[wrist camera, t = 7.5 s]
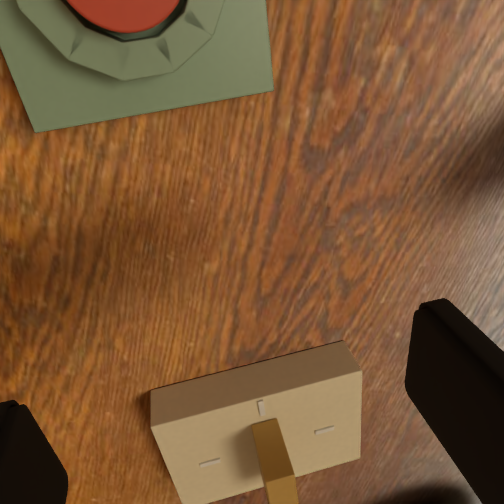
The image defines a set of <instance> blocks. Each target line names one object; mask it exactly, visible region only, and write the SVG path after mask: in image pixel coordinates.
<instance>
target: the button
mask: <svg viewBox="0 0 504 504" xmlns="http://www.w3.org/2000/svg"><path fill="white" fill-rule="evenodd" d="M67 2H68V3H69V4H70V5H71V6H72V7H73V8H74V9H75V10H76V11H77V12H78V13H79V14H81V15H82V16H83V17H84V18H86V19H87V20H89V21H90V22H92V23H93V24H96V25H98V26H100V27H102V28H104V29H107V30H110V31H114V32H119V33H137V32H141V31H145V30H148V29H150V28H153V27H155V26H156V25H158V24H160V23H161V22H162V21H164V20H165V19H166V18H167V17H168V16H169V15H170V14H171V13H172V12H173V10H174V9H175V7H176V6H177V4H178V2H179V0H67Z"/></svg>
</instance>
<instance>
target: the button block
mask: <svg viewBox="0 0 504 504" xmlns="http://www.w3.org/2000/svg"><path fill="white" fill-rule="evenodd" d="M0 48H1V51H2V53H3V56H4V58H5V61H6V63H7V65H8V68H9V70H10V73H11V75H12V78H13V80H14V83H15V85H16V88H17V90H18V92H19V95H20V97H21V100H22V102H23V105H24V107H25V110H26V112H27V115H28V117H29V120H30V122H31V124H32V127H33V129H34V132H35V133H39V132H45V131H50V130H56V129H62V128H67V127H73V126H79V125H84V124H90V123H96V122H101V121H107V120H113V119H118V118H124V117H130V116H135V115H141V114H146V113H152V112H158V111H163V110H169V109H175V108H180V107H186V106H192V105H197V104H203V103H209V102H214V101H220V100H226V99H231V98H237V97H243V96H248V95H254V94H260V93H265V92H271V91H274V84H273V73H272V63H271V52H270V41H269V30H268V19H267V9H266V0H179V2H178V4H177V6H176V7H175V9H174V10H173V12H172V13H171V14H170V15H169V16H168V17H167V18H166V19H165V20H164V21H162V22H161V23H160V24H158V25H156V26H155V27H153V28H150V29H148V30H145V31H141V32H137V33H119V32H114V31H110V30H107V29H104V28H102V27H100V26H98V25H96V24H93V23H92V22H90V21H89V20H87V19H86V18H84V17H83V16H82V15H81V14H79V13H78V12H77V11H76V10H75V9H74V8H73V7H72V6H71V5H70V4H69V3H68V2H67V0H0Z"/></svg>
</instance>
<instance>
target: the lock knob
mask: <svg viewBox="0 0 504 504" xmlns="http://www.w3.org/2000/svg"><path fill="white" fill-rule="evenodd" d="M251 428H252V433H253V438H254V442H255V447H256V452H257V457H258V462H259V467H260V472H261V476H262V480H263V484H264V488H265V492H266V496H267V500H268V504H299V503H298V496H297V488H296V480H295V473H294V470H293V467H292V464H291V461H290V458H289V454H288V451H287V448H286V445H285V442H284V439H283V435H282V432H281V429H280V426H279V423H278V420H277V418H275V419H272V420H268V421H264V422H261V423H257V424H253V425H251Z"/></svg>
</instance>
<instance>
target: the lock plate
mask: <svg viewBox="0 0 504 504" xmlns="http://www.w3.org/2000/svg"><path fill="white" fill-rule="evenodd" d="M361 400H362V369H361V368H360V366H359V364H358V363H357V361H356V359H355V358H354V356H353V355H352V353H351V351H350V350H349V348H348V346H347V345H346V343H345V341H340V342H336V343H332V344H328V345H324V346H321V347H317V348H313V349H309V350H305V351H301V352H297V353H293V354H290V355H286V356H282V357H278V358H274V359H270V360H266V361H262V362H259V363H255V364H251V365H247V366H243V367H239V368H235V369H231V370H228V371H224V372H220V373H216V374H212V375H208V376H204V377H200V378H197V379H193V380H189V381H185V382H181V383H177V384H173V385H169V386H166V387H162V388H158V389H154V390H151V392H150V428H151V430H152V432H153V435H154V437H155V440H156V442H157V444H158V447H159V449H160V452H161V454H162V456H163V459H164V461H165V464H166V466H167V468H168V471H169V473H170V476H171V478H172V481H173V483H174V485H175V488H176V490H177V493H178V495H179V497H180V500H181V502H182V504H207V503H210V502H214V501H217V500H220V499H224V498H227V497H231V496H234V495H237V494H241V493H244V492H247V491H251V490H254V489H258V488H261V487H264V484H263V480H262V476H261V472H260V467H259V462H258V457H257V452H256V447H255V442H254V438H253V433H252V428H251V425H253V424H257V423H261V422H264V421H268V420H272V419H275V418H277V420H278V423H279V426H280V429H281V432H282V435H283V439H284V442H285V445H286V448H287V451H288V454H289V458H290V461H291V464H292V467H293V470H294V473H295V477H298V476H301V475H305V474H308V473H312V472H315V471H318V470H322V469H325V468H328V467H332V466H335V465H339V464H342V463H345V462H349V461H352V460H355V459H359V458H360V443H361Z"/></svg>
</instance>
